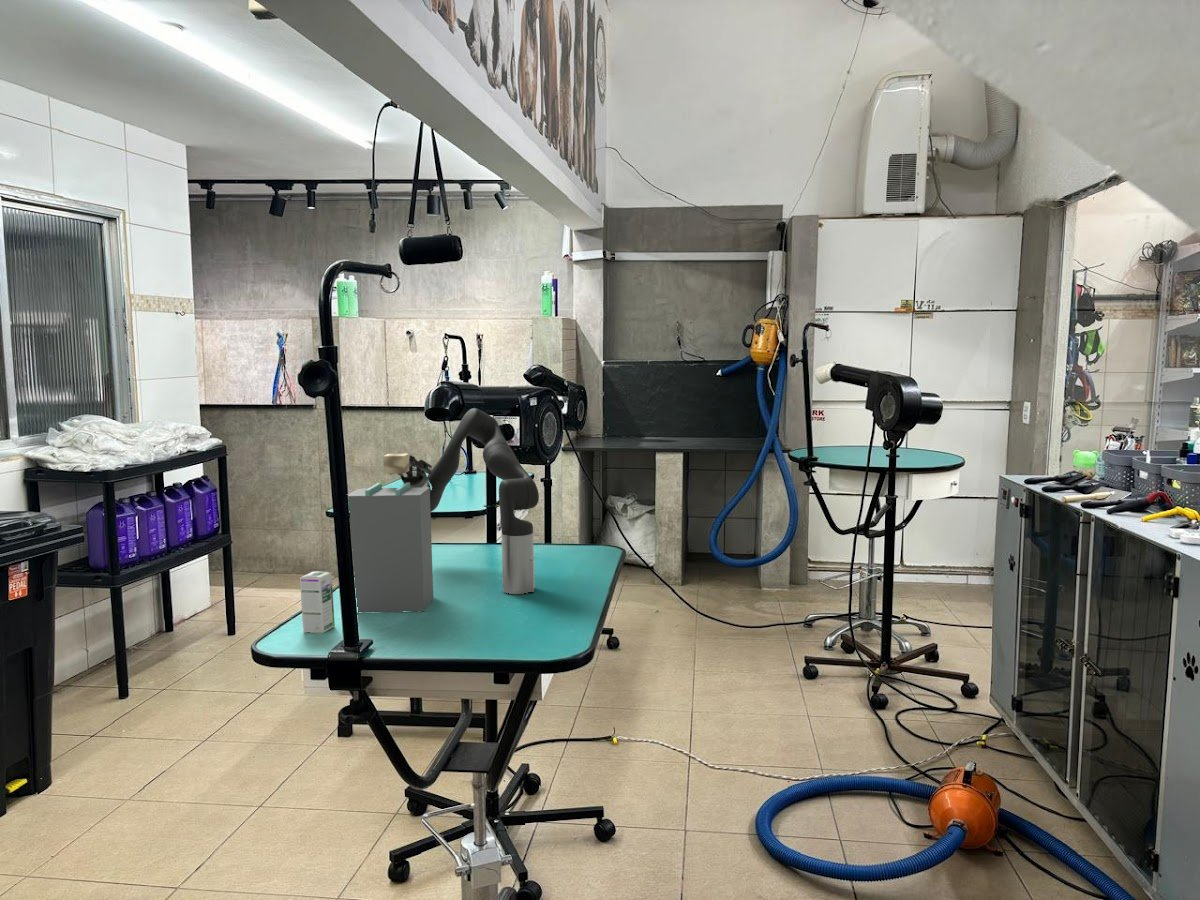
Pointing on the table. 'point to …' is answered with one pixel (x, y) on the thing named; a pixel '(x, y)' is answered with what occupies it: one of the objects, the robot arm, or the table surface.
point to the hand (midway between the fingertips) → (404, 458)
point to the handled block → (396, 463)
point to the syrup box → (317, 602)
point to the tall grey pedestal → (391, 548)
